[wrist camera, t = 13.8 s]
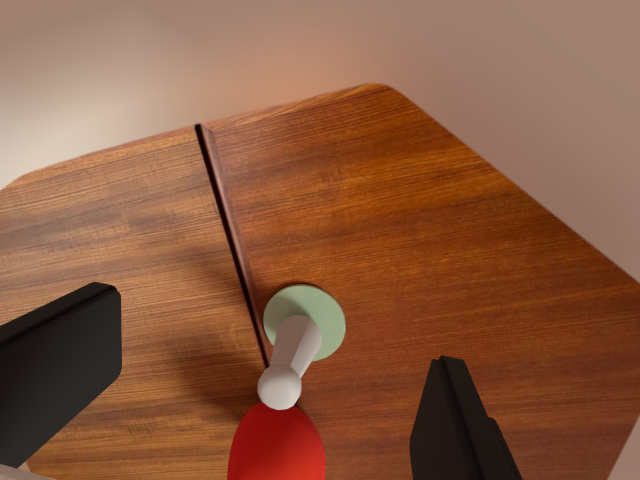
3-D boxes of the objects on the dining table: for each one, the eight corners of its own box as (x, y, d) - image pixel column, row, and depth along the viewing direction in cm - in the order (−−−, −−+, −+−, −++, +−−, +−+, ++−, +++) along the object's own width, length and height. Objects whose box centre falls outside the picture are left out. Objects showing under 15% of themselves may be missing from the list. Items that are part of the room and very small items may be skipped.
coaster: (248, 310, 47) (246, 312, 46) (312, 268, 44) (311, 269, 43) (297, 372, 48) (296, 374, 47) (362, 334, 45) (362, 337, 44)
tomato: (234, 412, 51) (185, 506, 38) (281, 366, 48) (244, 451, 35) (298, 464, 52) (272, 575, 38) (348, 422, 49) (339, 527, 35)
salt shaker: (307, 300, 44) (282, 359, 32) (333, 334, 45) (318, 405, 32) (272, 321, 46) (235, 386, 33) (298, 354, 46) (270, 429, 34)
